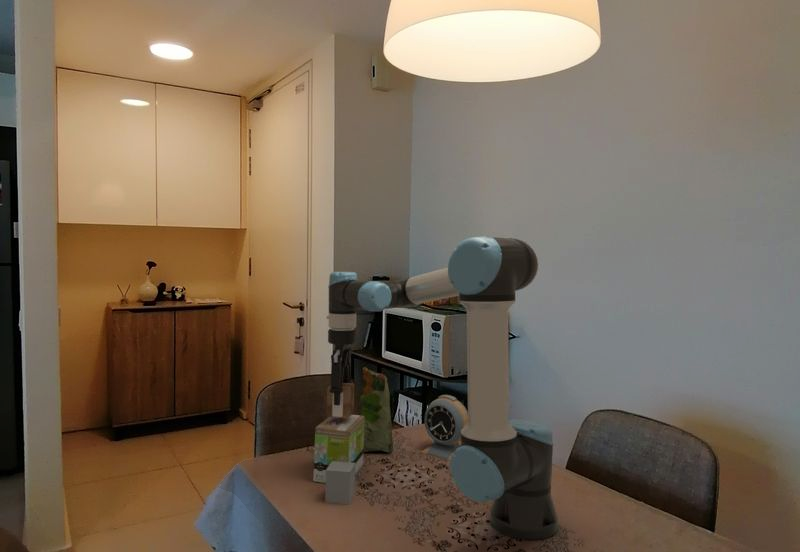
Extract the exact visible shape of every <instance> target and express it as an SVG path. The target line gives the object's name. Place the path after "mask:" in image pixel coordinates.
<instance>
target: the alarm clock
mask: <svg viewBox="0 0 800 552" xmlns="http://www.w3.org/2000/svg"><path fill="white" fill-rule="evenodd" d="M423 419H424V420H423V421H424V427H425V430H426V432H427V434H428V435H429V437H430V438H431V439H432V440H433V441H434V443H432V444H431V445H430V446H427V447H426V448H424V449H423V450H421V451H420V453H422V454H425V455H429V456H431V457H435V458H439V459H443V460H446V461H449V462H450V460H451V456H452V454H453V453H454V452H455V450H456V449H457V448H458V447H461V444H459V443H461V430H462V429H463V428H464V427H465V426H466V425H467V423H468V409H467V408H466V407H465V405H464V404H463V403H462V402H460V400H458V399H457V398H456V397H455V396H452V395H449V394H442V395H440V396H438V398H436V399H435V400H433V401H432V402H431V403H430V404H429V405H428V406H427V408H426V411H425V412H424V417H423Z"/></svg>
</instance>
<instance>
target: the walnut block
mask: <svg viewBox="0 0 800 552" xmlns="http://www.w3.org/2000/svg"><path fill="white" fill-rule="evenodd" d="M326 388H327V389H326V391H327V392H326V398H327V399H326V418H328V417H333V416H332V404H333V393H330V392H329V390H330V389H331V384H330V385H329V386H327V387H326ZM336 388H337V387H336ZM342 392H343V417H338V418H349V417H350V416H351V415H353V413H354V412H355V411H354V409H355V383H353V382H351V383H343V387H342Z"/></svg>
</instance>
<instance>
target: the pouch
mask: <svg viewBox="0 0 800 552" xmlns="http://www.w3.org/2000/svg"><path fill="white" fill-rule="evenodd" d="M362 373H363V377H362V379H363V380H362V381H363V385H361V390H363V394H361V395H360V403H361V411H360V413H361V416H365V426H364V452H363V453H368V452H384V453H392V451H394V441H393V427H392V426H393V425H392V419H391V417H392V416H391V414H392V413H391V407H390V401H391V400H390V399H391V396H390V395H391V394H390V389H389V385H388V378H387V376H386V375H385V374H383V373H377V372H375V370H374V369H373V371H372V370H371V369H370V370H369V369H368V368H367V367H366V366H364V367H363V368H362Z"/></svg>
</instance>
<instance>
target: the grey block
mask: <svg viewBox="0 0 800 552" xmlns="http://www.w3.org/2000/svg"><path fill="white" fill-rule="evenodd" d="M355 490H356V474H355V463H350V462H337V461H332V462H331V463H330V465H329V466H328V468H327V469H326V483H325V490H324V491H325V494H324V495H325V497H324V498H325V499H324V500H325V501H324V502H325V503H326V502H329V503H328V504H337V503H338V504H340V505H350V504H351V503H352V500H353V498H354V496H355V494H356V493H355V492H356V491H355Z"/></svg>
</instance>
